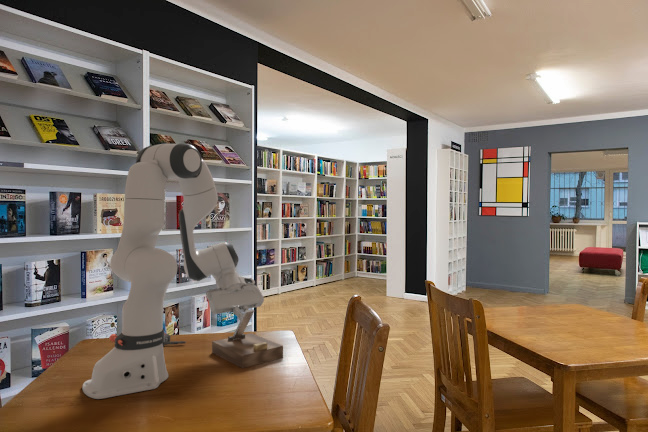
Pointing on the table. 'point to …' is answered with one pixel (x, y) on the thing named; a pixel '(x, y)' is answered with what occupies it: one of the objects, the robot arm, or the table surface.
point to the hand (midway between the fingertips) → (244, 319)
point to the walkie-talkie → (167, 338)
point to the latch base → (247, 350)
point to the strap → (243, 324)
